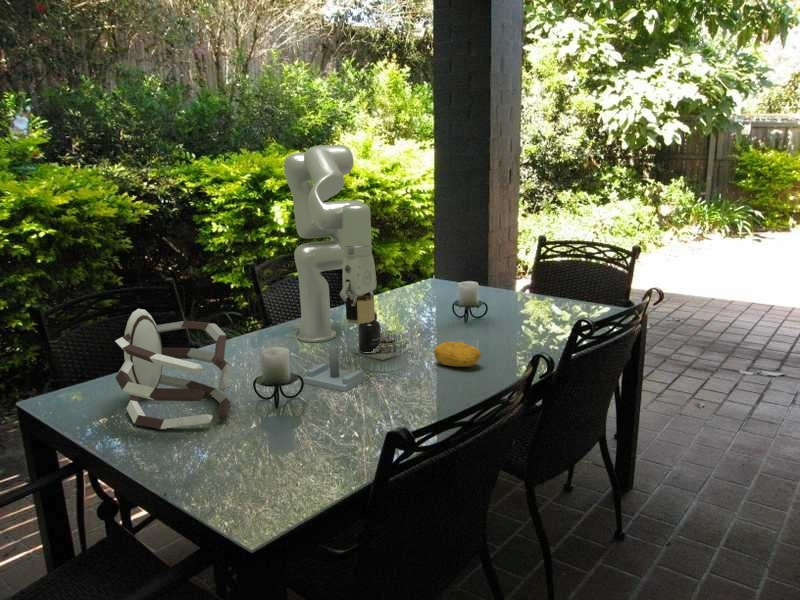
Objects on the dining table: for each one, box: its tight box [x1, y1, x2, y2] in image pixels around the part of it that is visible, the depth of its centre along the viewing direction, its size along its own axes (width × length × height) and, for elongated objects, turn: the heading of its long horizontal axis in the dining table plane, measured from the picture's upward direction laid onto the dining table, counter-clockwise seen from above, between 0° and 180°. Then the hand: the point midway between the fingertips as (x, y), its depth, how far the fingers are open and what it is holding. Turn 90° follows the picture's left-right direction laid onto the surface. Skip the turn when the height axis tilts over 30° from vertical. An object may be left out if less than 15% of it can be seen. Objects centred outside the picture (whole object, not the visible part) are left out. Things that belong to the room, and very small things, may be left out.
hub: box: [345, 295, 375, 325], centre depth 178 cm, size 7×7×6 cm
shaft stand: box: [302, 346, 368, 393], centre depth 178 cm, size 14×10×10 cm
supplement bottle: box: [357, 311, 382, 353], centre depth 202 cm, size 7×7×12 cm
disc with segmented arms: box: [114, 308, 233, 430], centre depth 160 cm, size 24×27×35 cm
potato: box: [433, 341, 482, 368], centre depth 188 cm, size 8×14×7 cm, turn 56°
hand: (360, 315), depth 178 cm, fingers closed on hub, 7 cm apart
